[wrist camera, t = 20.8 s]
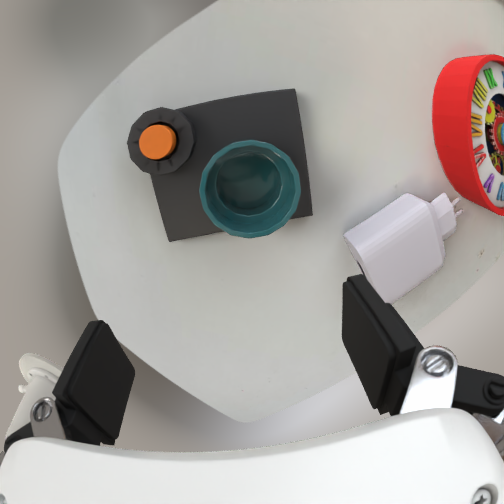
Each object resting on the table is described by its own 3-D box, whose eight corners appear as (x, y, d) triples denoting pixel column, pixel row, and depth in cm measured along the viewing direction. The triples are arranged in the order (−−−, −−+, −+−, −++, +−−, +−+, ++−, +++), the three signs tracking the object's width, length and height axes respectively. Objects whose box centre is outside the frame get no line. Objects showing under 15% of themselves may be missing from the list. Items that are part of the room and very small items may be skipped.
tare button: (148, 161, 21) (143, 163, 20) (141, 130, 20) (135, 130, 19) (179, 152, 21) (175, 154, 20) (172, 121, 20) (168, 120, 19)
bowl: (216, 223, 25) (212, 245, 21) (199, 147, 22) (190, 152, 18) (292, 209, 25) (305, 228, 21) (281, 132, 22) (293, 133, 18)
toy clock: (439, 71, 16) (517, 46, 12) (406, 77, 21) (489, 48, 17) (483, 245, 23) (548, 179, 20) (455, 227, 29) (523, 169, 25)
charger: (455, 227, 29) (369, 290, 32) (439, 165, 25) (340, 232, 28) (477, 242, 24) (385, 313, 27) (465, 174, 21) (357, 251, 24)
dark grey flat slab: (164, 238, 27) (156, 251, 24) (133, 120, 22) (122, 119, 19) (309, 211, 27) (317, 221, 24) (291, 86, 22) (298, 81, 19)
